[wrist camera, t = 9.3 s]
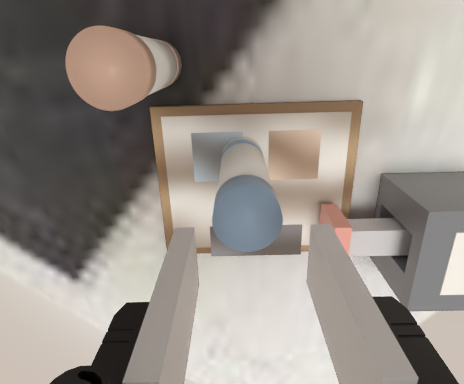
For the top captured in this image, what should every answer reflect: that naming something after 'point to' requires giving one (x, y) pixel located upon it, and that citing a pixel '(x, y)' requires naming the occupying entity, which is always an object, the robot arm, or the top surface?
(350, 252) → the plunger
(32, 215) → the top surface
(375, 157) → the top surface
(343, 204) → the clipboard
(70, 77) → the peach marker
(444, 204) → the box
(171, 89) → the top surface
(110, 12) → the top surface
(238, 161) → the pale blue cylinder
